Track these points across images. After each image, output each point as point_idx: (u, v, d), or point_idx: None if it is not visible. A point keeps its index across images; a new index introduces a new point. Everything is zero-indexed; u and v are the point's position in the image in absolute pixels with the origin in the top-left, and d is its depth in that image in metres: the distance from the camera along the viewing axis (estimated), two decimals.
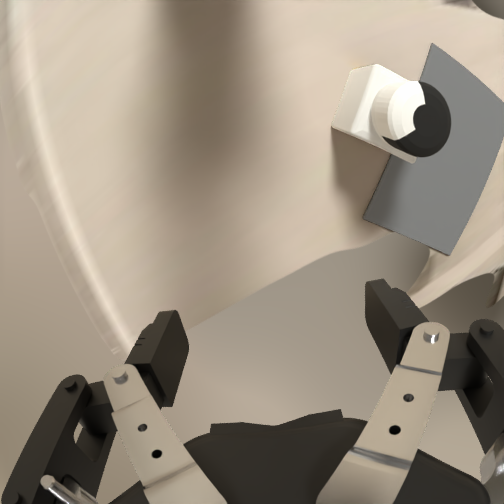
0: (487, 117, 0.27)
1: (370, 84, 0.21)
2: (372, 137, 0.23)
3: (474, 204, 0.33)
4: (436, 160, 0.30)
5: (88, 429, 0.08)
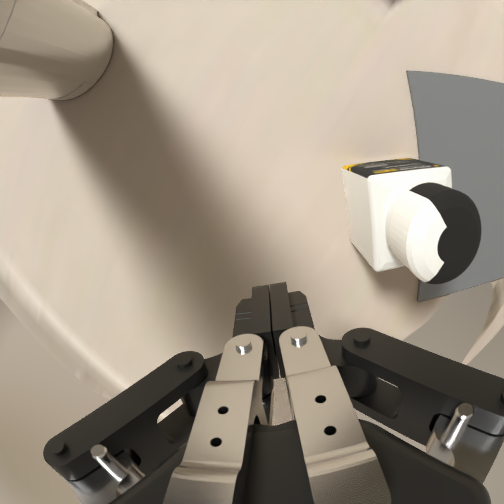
0: (496, 114, 0.21)
1: (373, 208, 0.19)
2: (399, 262, 0.20)
3: None
4: None
5: (187, 408, 0.09)
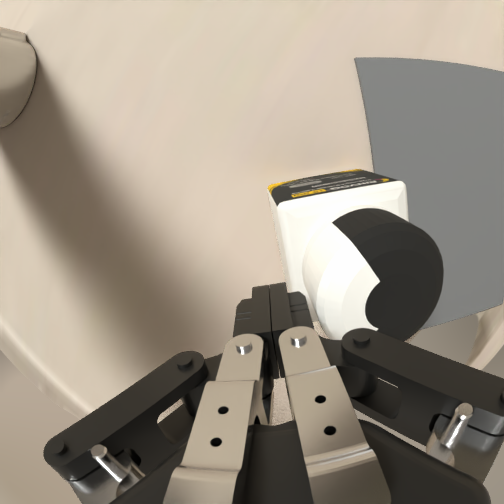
0: (482, 109, 0.17)
1: (287, 245, 0.15)
2: None
3: None
4: (442, 222, 0.21)
5: (187, 409, 0.09)
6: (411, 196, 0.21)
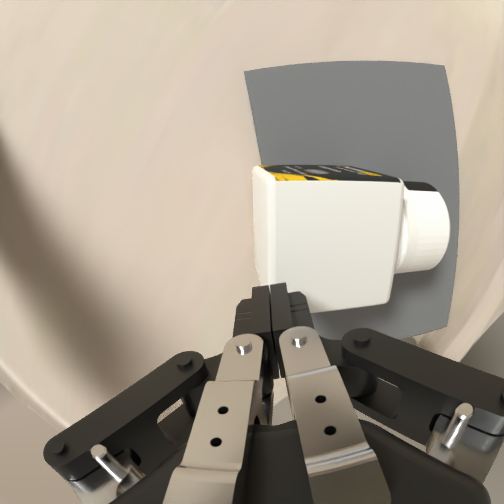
0: (409, 110, 0.18)
1: (401, 220, 0.14)
2: None
3: (454, 249, 0.22)
4: None
5: (187, 408, 0.09)
6: None
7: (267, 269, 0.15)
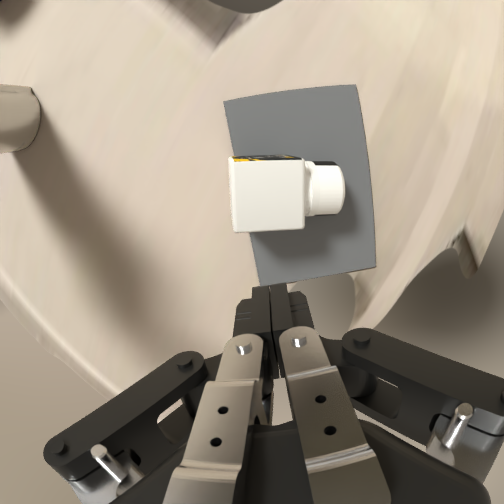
0: (327, 117, 0.32)
1: (304, 180, 0.28)
2: None
3: (370, 207, 0.36)
4: None
5: (187, 408, 0.09)
6: None
7: (232, 206, 0.29)
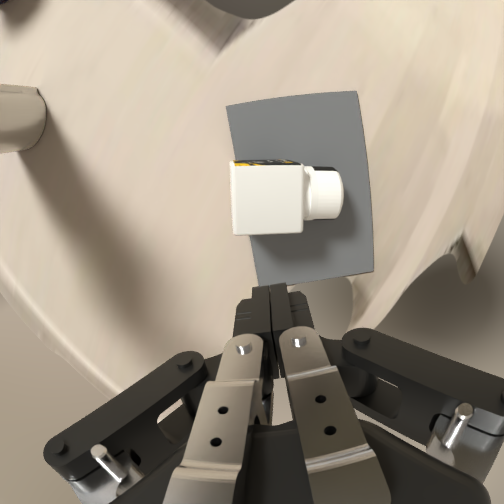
0: (327, 123, 0.33)
1: (303, 185, 0.29)
2: None
3: (368, 212, 0.37)
4: None
5: (187, 408, 0.09)
6: None
7: (232, 209, 0.29)
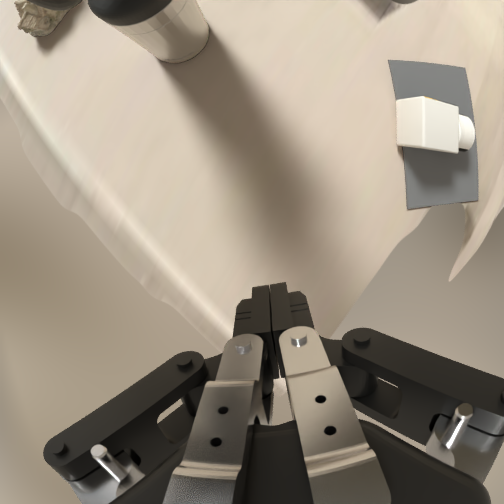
0: (451, 86, 0.35)
1: (458, 120, 0.31)
2: None
3: (475, 154, 0.39)
4: None
5: (187, 409, 0.09)
6: None
7: (421, 128, 0.32)
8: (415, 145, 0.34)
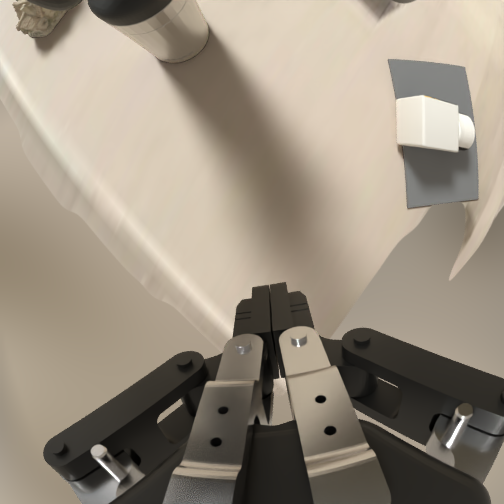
0: (451, 85, 0.35)
1: (458, 119, 0.31)
2: None
3: (475, 153, 0.39)
4: None
5: (187, 408, 0.09)
6: None
7: (421, 127, 0.32)
8: (415, 144, 0.34)
